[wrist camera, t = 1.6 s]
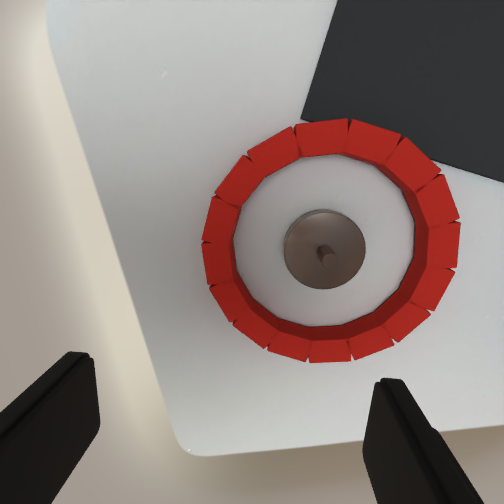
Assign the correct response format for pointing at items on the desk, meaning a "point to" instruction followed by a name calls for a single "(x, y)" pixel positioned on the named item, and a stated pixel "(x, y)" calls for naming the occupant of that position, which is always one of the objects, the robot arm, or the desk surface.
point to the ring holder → (324, 249)
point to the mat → (419, 76)
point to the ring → (415, 281)
